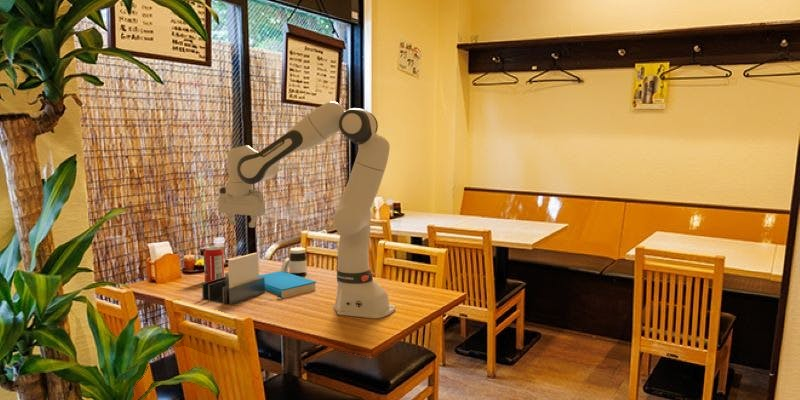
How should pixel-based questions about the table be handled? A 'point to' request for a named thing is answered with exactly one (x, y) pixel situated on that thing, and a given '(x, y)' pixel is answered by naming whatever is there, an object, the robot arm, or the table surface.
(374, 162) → the robot arm
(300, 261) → the striped mug
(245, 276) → the tall sheet
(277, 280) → the book
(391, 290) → the table surface
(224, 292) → the rack
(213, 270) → the soda can
